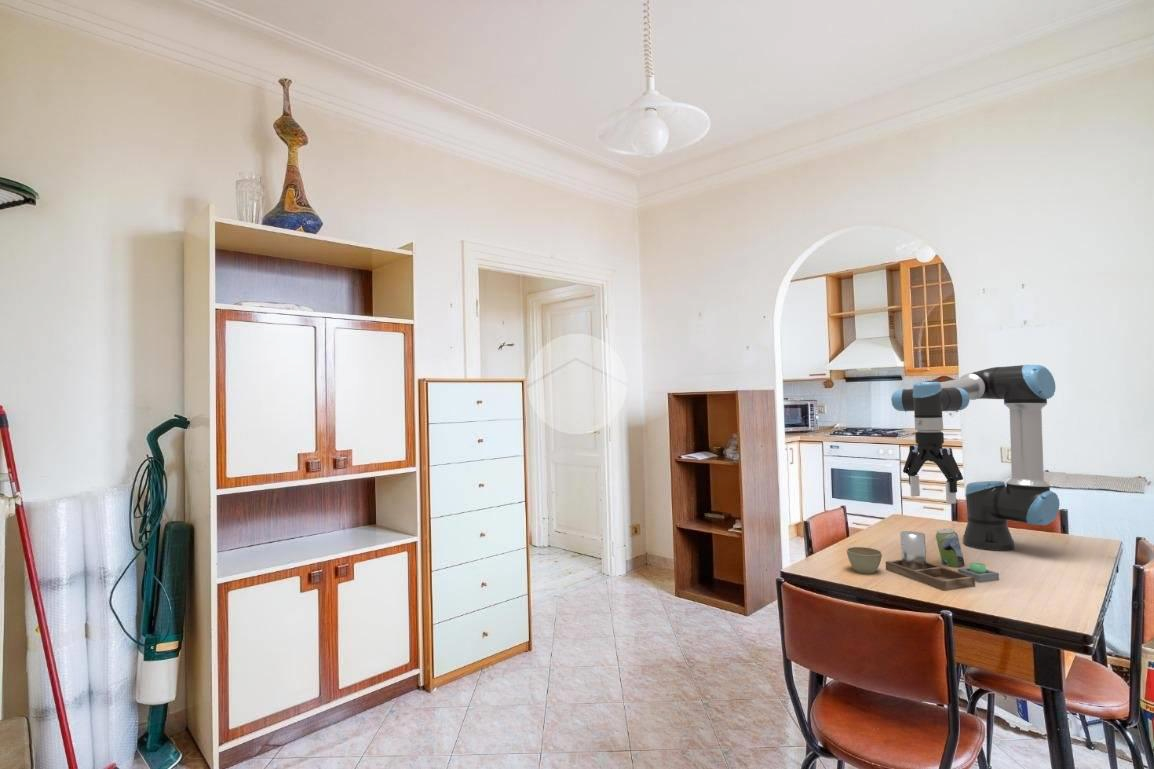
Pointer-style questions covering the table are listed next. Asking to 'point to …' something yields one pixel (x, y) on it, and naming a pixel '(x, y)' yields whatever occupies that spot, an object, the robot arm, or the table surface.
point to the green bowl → (864, 559)
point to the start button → (977, 568)
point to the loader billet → (913, 550)
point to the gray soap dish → (981, 575)
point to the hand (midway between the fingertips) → (932, 499)
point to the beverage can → (949, 548)
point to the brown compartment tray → (933, 576)
